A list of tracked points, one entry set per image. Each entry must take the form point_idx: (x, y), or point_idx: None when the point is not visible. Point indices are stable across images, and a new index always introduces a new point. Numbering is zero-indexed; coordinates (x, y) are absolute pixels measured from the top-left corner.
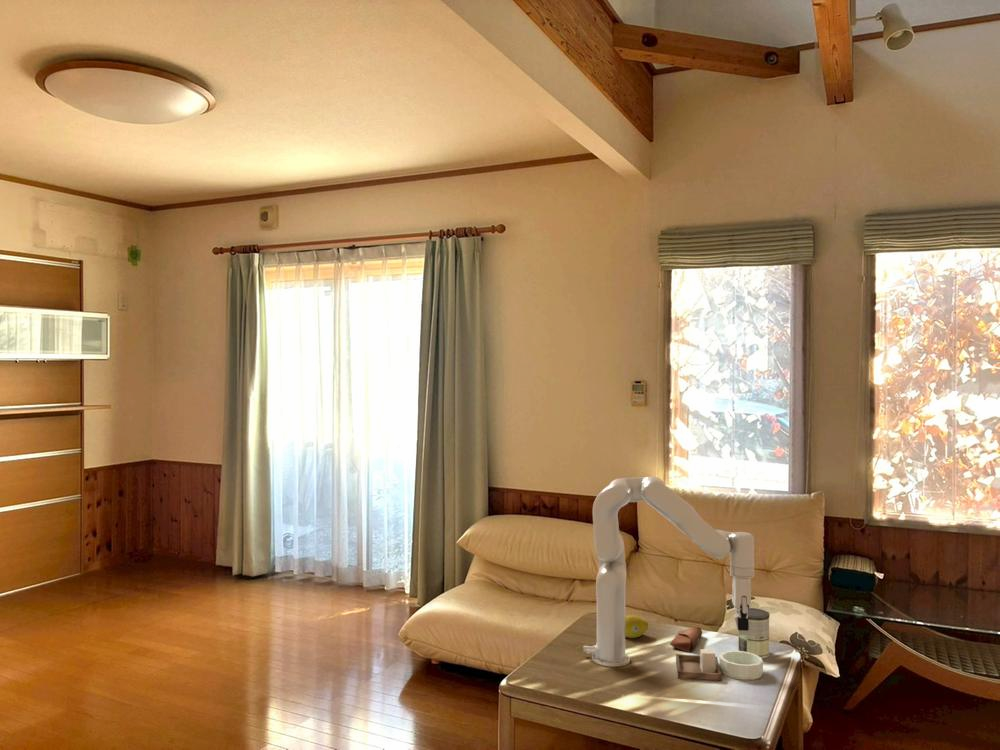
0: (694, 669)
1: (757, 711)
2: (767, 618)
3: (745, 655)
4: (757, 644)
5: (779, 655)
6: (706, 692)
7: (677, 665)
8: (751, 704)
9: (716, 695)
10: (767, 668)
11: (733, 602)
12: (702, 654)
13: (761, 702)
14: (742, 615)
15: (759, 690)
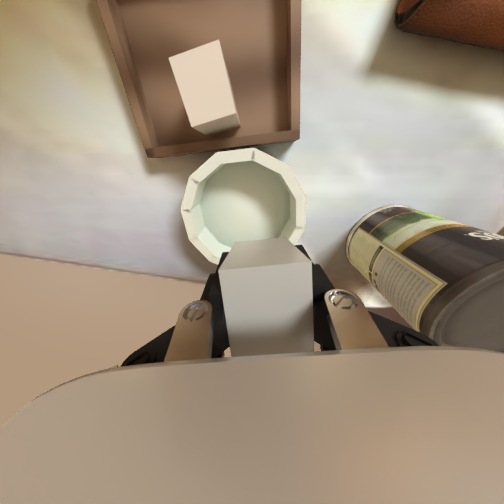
0: None
1: (37, 237)
2: None
3: (291, 230)
4: (364, 265)
5: (368, 288)
6: (53, 111)
7: None
8: (63, 227)
9: (54, 143)
10: None
11: (213, 425)
12: (171, 60)
13: (89, 246)
14: (160, 346)
15: (151, 245)
